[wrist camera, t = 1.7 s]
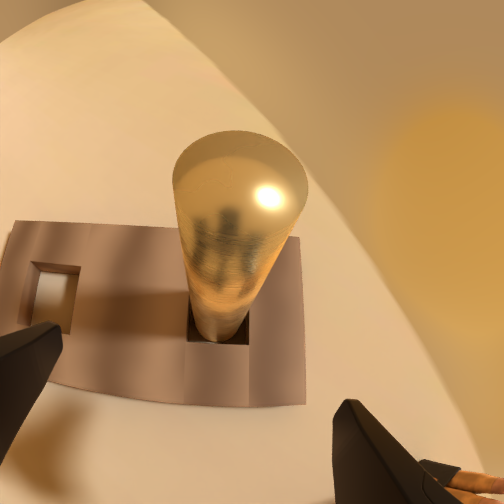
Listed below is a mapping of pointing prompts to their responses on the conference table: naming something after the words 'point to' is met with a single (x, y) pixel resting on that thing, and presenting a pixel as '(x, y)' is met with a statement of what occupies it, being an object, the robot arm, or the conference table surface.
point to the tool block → (155, 318)
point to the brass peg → (233, 221)
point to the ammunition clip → (465, 482)
